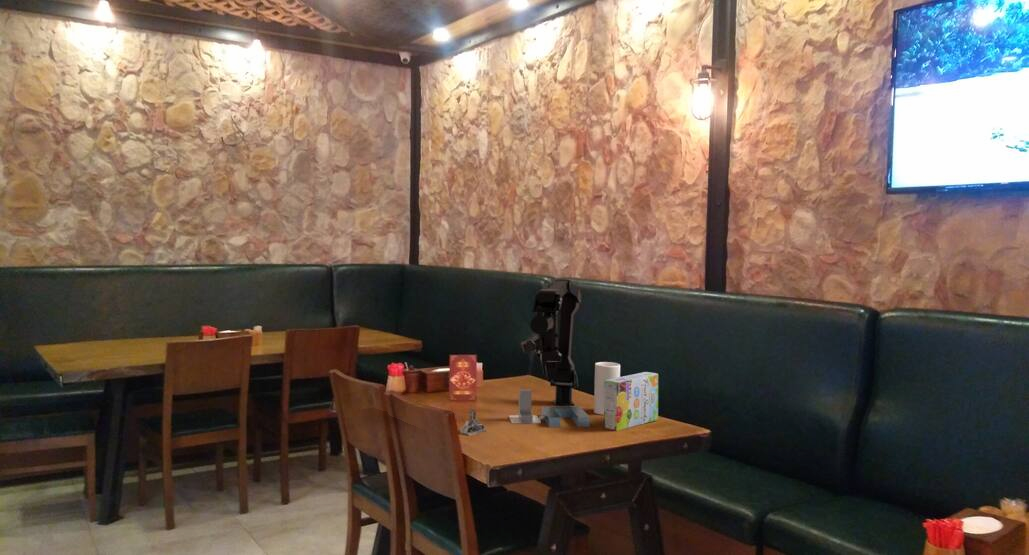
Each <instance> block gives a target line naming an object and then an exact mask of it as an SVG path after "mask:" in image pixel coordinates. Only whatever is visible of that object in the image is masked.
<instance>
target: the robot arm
mask: <svg viewBox="0 0 1029 555" xmlns="http://www.w3.org/2000/svg"><path fill="white" fill-rule="evenodd" d="M581 303H582V294H581V290H580V288H579V287H578V286H576V285H575V284H574V283H573V282H572V280H571V279H569V278H558V279H555V282H554V283H553V284H552V285H550V287H549V288H542V289H539V290H538V292H537V293H536V295H535V299H534V303H533V308H532V313H536V315H535V316H534V317H532V319H531V321H530V324H529V327H530V330H531V331H532V332H533V333H535V334H536V335H537V336H535V337H532V338H528V339H526V340H523V341H521V342H520V345H521V347H522V350H523V353H524V354H526V355H527V354H529V353H530V352H533V351H534V352H535V355H537V356H538V357H539V359H540V362H541V367H542V372H543V376H546V379H547V382H549V383H550V385H549V386H550V387H555V395H554V396H555V399H554V400H552V403H553V404H554V406H575V403H574V402H573V389H576V388H578V387H579V379H578V375H577V371H576V370H575V369H576V367H575V364H574V361H573V360H572V358H571V357H572V356H571V355H572V344H573V343H572V341H573V332H574V331H573V328H574V316H575V314H576V313H577V311H578V310H579V309H580V304H581ZM558 313H560V314H559V317H560V318H559V329H558ZM558 330H559V331H558Z"/></svg>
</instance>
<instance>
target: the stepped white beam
mask: <svg viewBox="0 0 1029 555" xmlns="http://www.w3.org/2000/svg"><path fill="white" fill-rule="evenodd" d="M532 393H533V392H532V390H531V389H530V388H518V415H519V419H520V421H521V424H527V423H526V422H533V415H534V414H532Z"/></svg>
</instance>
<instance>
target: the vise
mask: <svg viewBox="0 0 1029 555" xmlns="http://www.w3.org/2000/svg"><path fill="white" fill-rule="evenodd" d="M538 418H539V420H540V421H542V420H543V421H545V423H546V425H547V427H548V428H561V419H562V418H567V419H568V418H569V419H572V421H573V422H574V423H575V425H576V426H577V427H578V428H590V427H591V426H590V425H591V423H590V422H591V420H590V418H591V417H590V416H589V414H588V413H586V411H585V410H584V409H583V408H582V407H581V406H580V405H579V406H578V405H553V406H541V415H539V416H538Z"/></svg>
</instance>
